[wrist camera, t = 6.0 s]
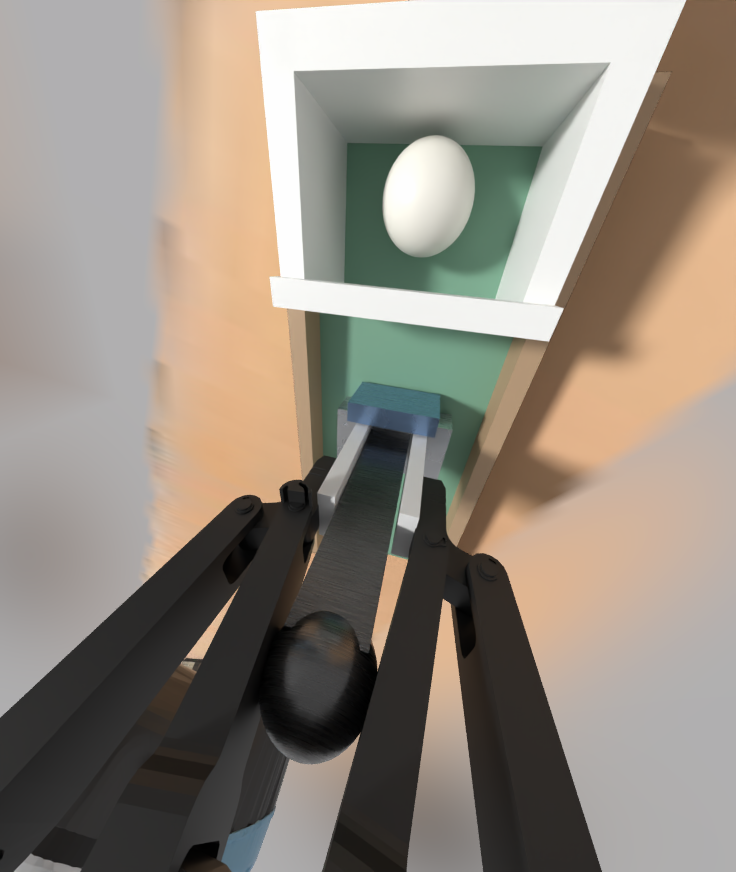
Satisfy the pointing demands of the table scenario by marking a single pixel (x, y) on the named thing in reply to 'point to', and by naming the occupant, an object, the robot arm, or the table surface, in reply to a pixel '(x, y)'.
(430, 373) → the pitch
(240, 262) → the table surface
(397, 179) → the ball
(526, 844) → the robot arm
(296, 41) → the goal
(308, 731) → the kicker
